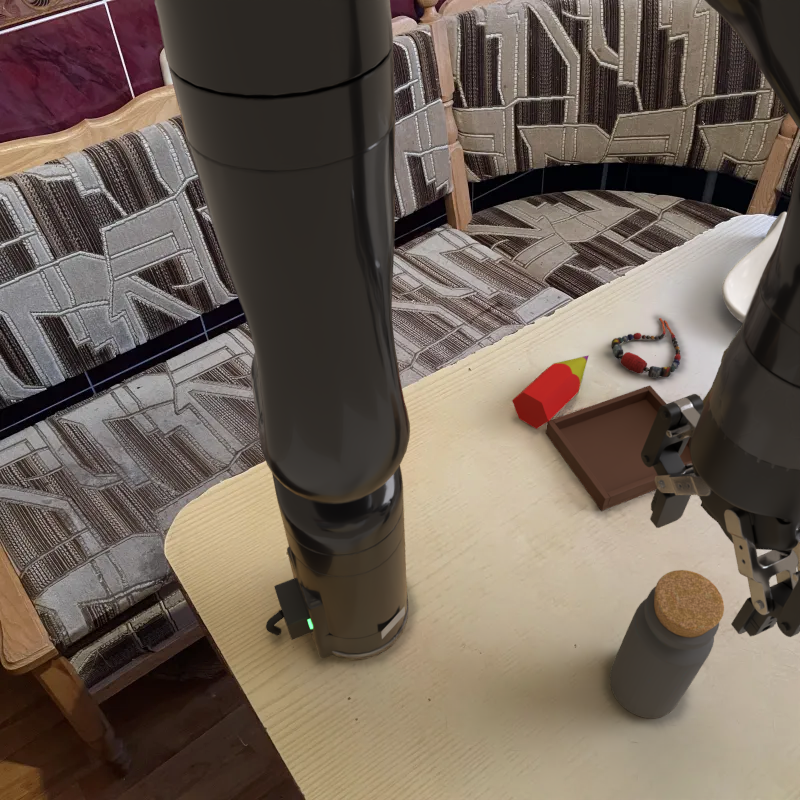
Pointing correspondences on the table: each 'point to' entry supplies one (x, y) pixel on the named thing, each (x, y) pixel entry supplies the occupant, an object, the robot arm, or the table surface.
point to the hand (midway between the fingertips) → (704, 570)
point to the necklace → (639, 364)
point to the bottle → (666, 643)
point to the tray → (611, 446)
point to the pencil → (550, 391)
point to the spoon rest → (750, 272)
